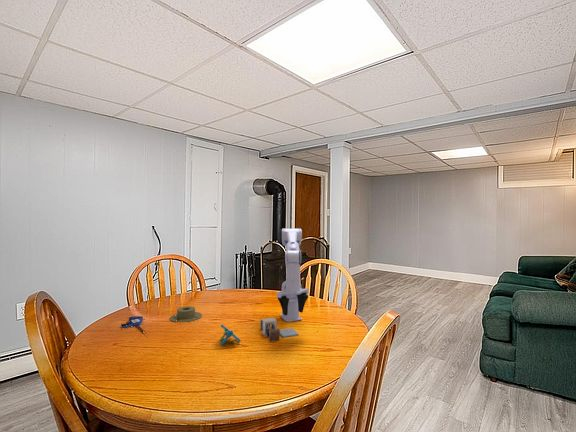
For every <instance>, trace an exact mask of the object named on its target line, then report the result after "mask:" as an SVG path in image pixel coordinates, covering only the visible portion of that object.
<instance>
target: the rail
mask: <svg viewBox="0 0 576 432" xmlns="http://www.w3.org/2000/svg"><path fill="white" fill-rule="evenodd" d="M259 324H260V329H259V330H261V331H263V319H260V323H259ZM280 330H281V329H279V328H277V329H272V325H271V324H268V341H269V342H276V341H280V340H281V338H280V337H281V335H280Z"/></svg>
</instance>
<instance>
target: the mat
mask: <svg viewBox="0 0 576 432" xmlns="http://www.w3.org/2000/svg"><path fill="white" fill-rule="evenodd" d="M279 330H280V337H282V339H283V338H284V339H285V338H292V337H296V336H299V333H298V332H297V331H296V330H295V329H294V328H292V327H291V328H285V329H279Z"/></svg>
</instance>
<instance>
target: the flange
mask: <svg viewBox="0 0 576 432" xmlns="http://www.w3.org/2000/svg"><path fill="white" fill-rule="evenodd" d="M175 315H177V316H175ZM202 317H203V314H202V313H201V312H197V311H196V306H195V307H194V306H193V305H192V306H190V305H187V306H182V307H181V306H180V307H179V308H177V309H176V313H175V314H172V315H171V316H170V317H169V321H170V320H171V322H172V321H174V322H173V323H176V322H187V323H192V322H191V321H193V322H196V321H198V319H199V320H201V318H202ZM194 318H195V319H194ZM176 320H178V321H176ZM195 320H196V321H195Z"/></svg>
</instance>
